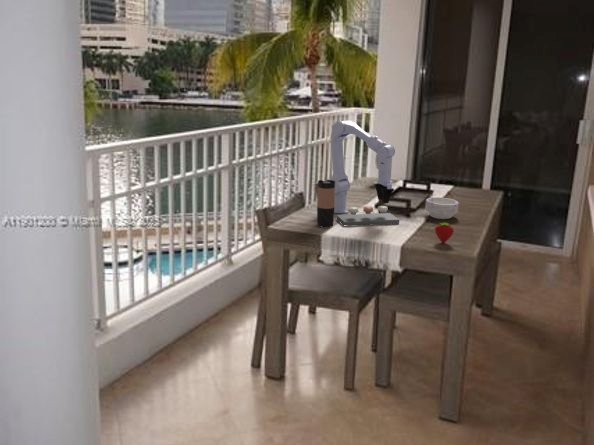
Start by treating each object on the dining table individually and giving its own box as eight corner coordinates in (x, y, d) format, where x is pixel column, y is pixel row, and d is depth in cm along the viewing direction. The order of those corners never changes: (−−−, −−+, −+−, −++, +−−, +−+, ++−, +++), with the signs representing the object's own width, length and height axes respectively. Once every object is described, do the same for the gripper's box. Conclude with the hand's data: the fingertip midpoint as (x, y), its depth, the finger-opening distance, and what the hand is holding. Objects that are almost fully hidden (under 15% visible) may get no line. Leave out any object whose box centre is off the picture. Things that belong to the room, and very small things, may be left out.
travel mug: (328, 228, 255) (330, 183, 250) (313, 225, 259) (314, 181, 254) (336, 224, 262) (338, 181, 256) (322, 222, 265) (323, 179, 260)
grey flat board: (344, 226, 259) (344, 222, 259) (336, 219, 270) (336, 215, 270) (399, 223, 265) (399, 219, 264) (389, 217, 276) (389, 212, 276)
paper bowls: (462, 220, 273) (464, 204, 270) (431, 221, 270) (433, 204, 268) (449, 212, 287) (450, 196, 285) (420, 213, 285) (421, 197, 282)
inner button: (350, 215, 263) (350, 209, 262) (347, 212, 267) (347, 207, 266) (359, 215, 264) (359, 209, 263) (356, 212, 268) (356, 206, 267)
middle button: (365, 214, 264) (365, 209, 263) (361, 212, 268) (362, 206, 267) (374, 214, 265) (374, 208, 264) (370, 211, 269) (371, 206, 268)
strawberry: (450, 246, 234) (452, 222, 231) (431, 243, 237) (433, 219, 235) (454, 242, 239) (456, 219, 236) (436, 239, 242) (438, 216, 240)
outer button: (379, 214, 266) (379, 208, 265) (376, 211, 270) (376, 206, 269) (388, 213, 266) (389, 208, 266) (385, 211, 271) (385, 205, 270)
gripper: (399, 174, 257) (397, 204, 261) (387, 168, 271) (385, 197, 274) (384, 175, 255) (382, 205, 259) (372, 169, 269) (371, 197, 273)
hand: (383, 201), depth 267 cm, fingers open, 7 cm apart
